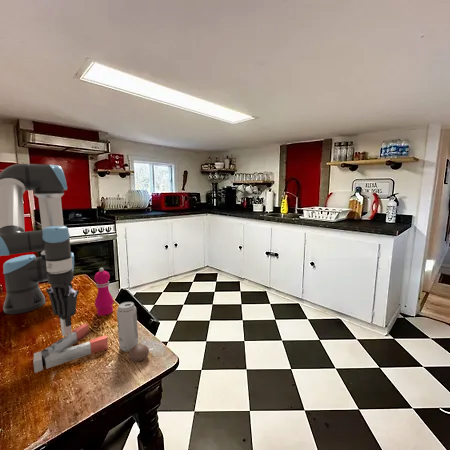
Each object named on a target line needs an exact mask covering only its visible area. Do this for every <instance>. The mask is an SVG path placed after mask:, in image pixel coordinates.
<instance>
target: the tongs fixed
mask: <svg viewBox="0 0 450 450" xmlns="http://www.w3.org/2000/svg"><path fill="white" fill-rule="evenodd" d="M108 341H109V340H108V336H107V334H105V335H102V336H99V337H95V338H93V339H89V341H86V342H83V343H80V344H77V345H74V346H73V345H72V346H70V347H69V348H67V349H64V350H60V351H57V352H54V353H51V354H49V351H48V349H46V348H44V349H42V350H41V351H37V352H34V353H33V361H32V362H33V370H34V374H36V373H39V372H41V371H44V367H45V368H46V370H48V369H50V368H53V367H56V366H60V365H62V364H65V363H67V362H71V361H74V360H77V359H79V358H83V357H86V356H88V355H92V354H96V353H99V352H101V351H105V350H107V349H109V344H108Z"/></svg>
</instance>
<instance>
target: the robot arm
mask: <svg viewBox="0 0 450 450" xmlns="http://www.w3.org/2000/svg"><path fill="white" fill-rule="evenodd" d="M67 190H68V185H67V180H66V175H65V172H64V170H63V168H62V167H61V166H60V165H58V164H57V165H56V164H48V163H47V164H44V163H43V164H42V163H15V164H12V165H10V166H7V167H6V168H4V169H3V170H2V171H0V257H1V256H2V257H3V256H11V255H20V254H25V255H20V256H17V257H14V258H13V257H12V258H10V259H8V260H6V261H5V262H4V263H3V265H2V268H3V272H2V274H3V277H4V283H5V285H4V286H5V291H6V296H5V300H4V303H3V306H2V309H3V313H4V314H5V315H17V314H24V313H29V312H31V311H35V310H36V309H39V308H40V307H42V306H44V305H45V304H46V297H45V295H44V293H43V292H42V290H41V288H40V285H39V283H42V282H46V281H47V283H48V284H49V285H50V287H48V288H46V290H45V291H46V293H47V294H48V297H49V300H50V303H51V308H52V312H53V315H54V316H57V318H59V325H60V328H61V329H60V330H61V336H63V337H65V336H67V335H68V334H70V333H72V332H73V329H72V317H73V316H75V315H76V309H77V300H78V295H79V293H80V291H79V290H78V289H77V290H76V289H74V287H73V284H72V281H73V280H74V268H75V255H74V252H72V251H71V241H70V235H71V234H70V232H69V227H67V226H66V225H64V217H63V216H64V215H63V208H62V207H63V206H62V197H63V196H64V195H65V191H67ZM26 191H32V192H33V195H34V197H36V198H38V206H39V215H40V223H41V224H40V225H41V230H30V231H29V230H28V231H25V230H26V229H25V227H26V226H25V213H24V209H25V208H24V194H25V192H26ZM35 252H40V256H38V257H37V256H36V255H35V254H33V253H35ZM26 253H30V254H26ZM31 253H32V254H31Z"/></svg>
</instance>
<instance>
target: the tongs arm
mask: <svg viewBox="0 0 450 450" xmlns="http://www.w3.org/2000/svg"><path fill="white" fill-rule="evenodd" d="M88 335H90V326H89V324H88V323H82V324H81V325H79V326H77V327H76V328H74V329H72V332H71V333H69V334H68V335H66V336H63V337H62V338H59V340H57V341H56V342H53V343H52V344H51V345H49V346H47V347H45V349H48V351H49V354H51V353H54V352H57V351H60V350H64V349H67V348H70V347H73V345H74V344H76V343H78V342H80V341H81V340H83V339H84V338H85V337H87V336H88Z"/></svg>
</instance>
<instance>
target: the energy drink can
mask: <svg viewBox="0 0 450 450" xmlns="http://www.w3.org/2000/svg"><path fill="white" fill-rule="evenodd" d="M116 319H117V320H116V321H117V331H118V333H117V334H118V343H119V345H118V346H119V349H121V351H122V352H130V350H131V349H132V348H133V347H134V346H136V345H139V330H138V314H137V307H136V306H135V303H134V302H133V301H124V302H121V303H120V304H119V305H118V306H117V309H116Z"/></svg>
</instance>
